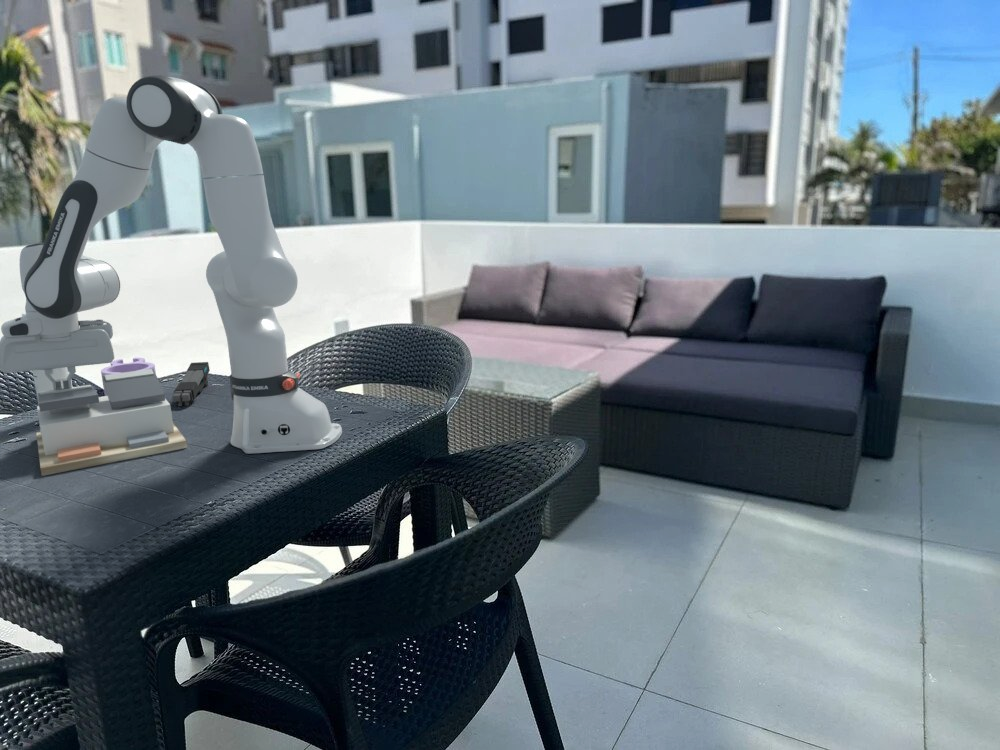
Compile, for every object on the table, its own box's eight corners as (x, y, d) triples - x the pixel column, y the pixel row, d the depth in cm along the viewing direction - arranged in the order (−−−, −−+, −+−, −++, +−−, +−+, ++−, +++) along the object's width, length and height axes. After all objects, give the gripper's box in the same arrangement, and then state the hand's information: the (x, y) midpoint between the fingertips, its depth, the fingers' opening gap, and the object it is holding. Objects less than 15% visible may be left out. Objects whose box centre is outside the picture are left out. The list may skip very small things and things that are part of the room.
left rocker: (38, 400, 145) (37, 391, 145) (94, 392, 150) (92, 384, 150) (40, 411, 135) (38, 401, 135) (99, 402, 141) (97, 393, 140)
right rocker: (103, 382, 151) (102, 374, 150) (154, 375, 156) (153, 367, 156) (111, 409, 142) (110, 400, 142) (165, 400, 148) (164, 392, 147)
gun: (214, 383, 192) (206, 351, 186) (198, 428, 175) (189, 395, 170) (196, 383, 191) (188, 352, 186) (179, 429, 175) (170, 396, 169)
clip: (105, 385, 193) (102, 361, 191) (156, 379, 198) (152, 355, 196) (104, 403, 175) (100, 376, 174) (159, 396, 181) (155, 370, 179)
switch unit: (37, 439, 149) (30, 399, 147) (165, 417, 163) (160, 381, 161) (41, 475, 129) (33, 430, 127) (187, 447, 143) (181, 406, 140)
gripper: (109, 316, 151) (117, 378, 155) (-7, 324, 140) (4, 391, 144) (112, 320, 146) (120, 385, 150) (-8, 329, 135) (3, 398, 138)
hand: (62, 388), depth 146 cm, fingers closed, pressing on left rocker
